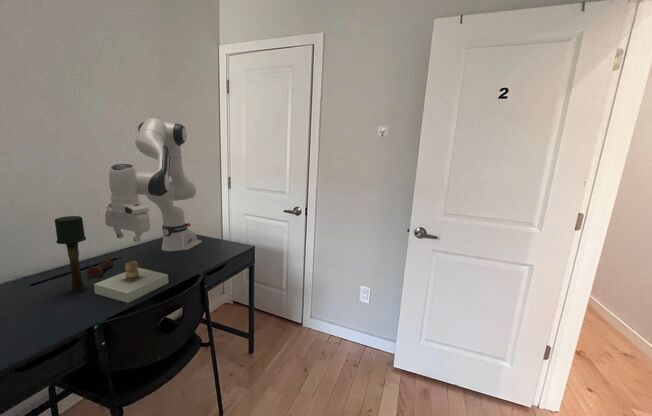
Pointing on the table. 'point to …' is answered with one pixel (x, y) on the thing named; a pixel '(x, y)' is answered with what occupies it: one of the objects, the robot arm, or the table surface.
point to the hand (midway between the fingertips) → (128, 239)
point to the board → (130, 285)
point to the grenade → (72, 245)
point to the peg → (131, 270)
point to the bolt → (99, 268)
